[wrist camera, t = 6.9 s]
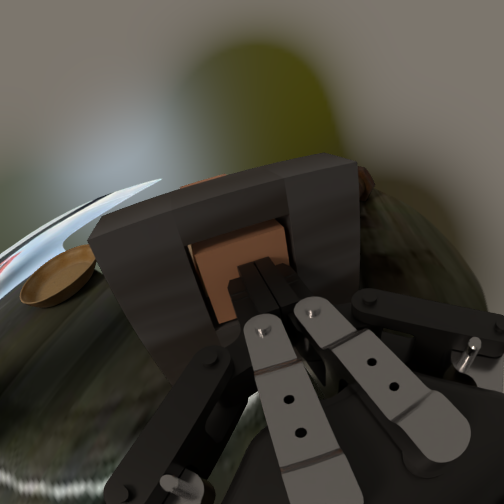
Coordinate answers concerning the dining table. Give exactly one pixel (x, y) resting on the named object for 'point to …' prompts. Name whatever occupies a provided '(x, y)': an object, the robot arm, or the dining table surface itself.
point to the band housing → (217, 223)
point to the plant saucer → (59, 278)
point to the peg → (236, 258)
